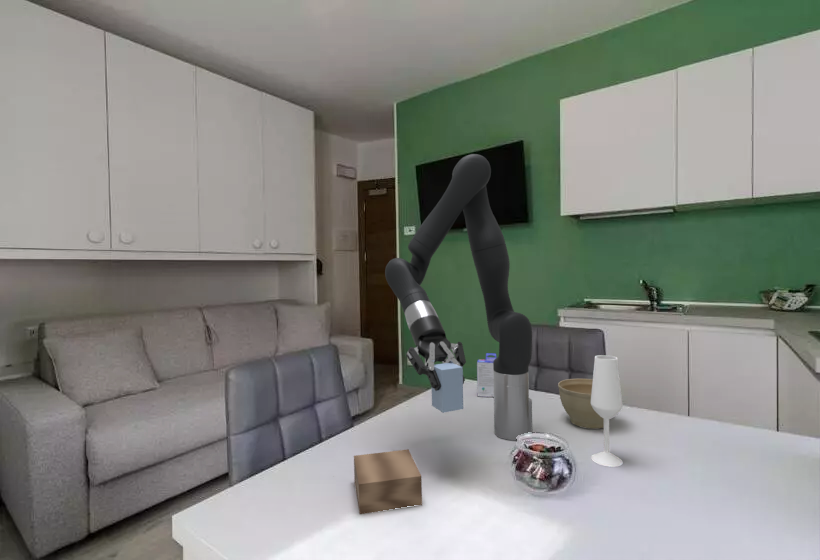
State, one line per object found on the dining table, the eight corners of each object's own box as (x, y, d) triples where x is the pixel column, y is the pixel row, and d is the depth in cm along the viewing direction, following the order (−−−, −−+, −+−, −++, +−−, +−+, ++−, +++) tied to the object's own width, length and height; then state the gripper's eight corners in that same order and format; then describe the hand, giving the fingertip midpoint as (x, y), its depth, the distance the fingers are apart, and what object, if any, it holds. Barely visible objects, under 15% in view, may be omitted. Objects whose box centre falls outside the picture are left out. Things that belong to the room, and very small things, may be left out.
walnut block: (409, 476, 92) (408, 449, 91) (422, 506, 80) (421, 476, 80) (354, 483, 89) (353, 455, 89) (359, 515, 77) (358, 484, 77)
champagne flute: (626, 459, 96) (626, 356, 96) (617, 469, 92) (617, 362, 91) (596, 450, 101) (596, 353, 100) (586, 460, 96) (585, 358, 95)
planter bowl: (622, 419, 121) (622, 382, 121) (616, 439, 107) (616, 397, 107) (565, 409, 130) (564, 375, 129) (552, 427, 116) (552, 389, 116)
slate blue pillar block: (451, 402, 93) (450, 362, 93) (463, 408, 89) (462, 367, 88) (431, 405, 91) (431, 365, 91) (442, 412, 87) (442, 370, 86)
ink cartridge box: (506, 393, 147) (505, 352, 147) (506, 398, 142) (505, 356, 142) (477, 392, 149) (477, 352, 149) (477, 397, 144) (476, 355, 144)
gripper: (400, 316, 94) (425, 382, 83) (455, 312, 99) (485, 373, 89) (392, 336, 99) (414, 400, 88) (445, 331, 104) (472, 391, 94)
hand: (450, 386), depth 89 cm, fingers closed on slate blue pillar block, 5 cm apart
